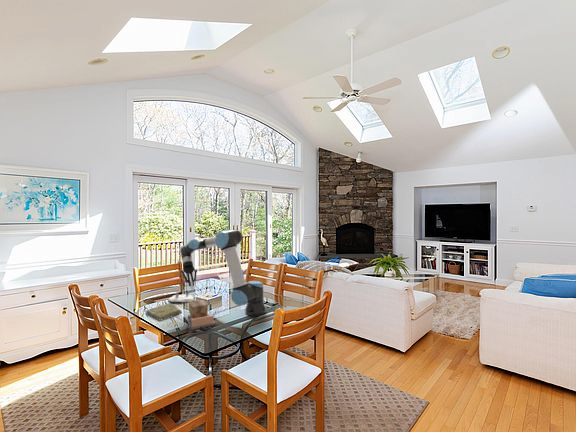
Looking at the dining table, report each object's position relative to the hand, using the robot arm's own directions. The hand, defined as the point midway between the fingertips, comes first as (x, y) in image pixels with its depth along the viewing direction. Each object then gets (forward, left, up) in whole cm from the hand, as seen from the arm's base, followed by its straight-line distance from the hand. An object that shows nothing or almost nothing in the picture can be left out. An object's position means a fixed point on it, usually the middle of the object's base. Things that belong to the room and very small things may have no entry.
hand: (192, 289), depth 233 cm
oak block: (0, +18, -15) cm, 23 cm away
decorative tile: (+19, -6, -17) cm, 26 cm away
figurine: (+3, -29, -17) cm, 34 cm away
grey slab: (0, +21, -16) cm, 27 cm away
